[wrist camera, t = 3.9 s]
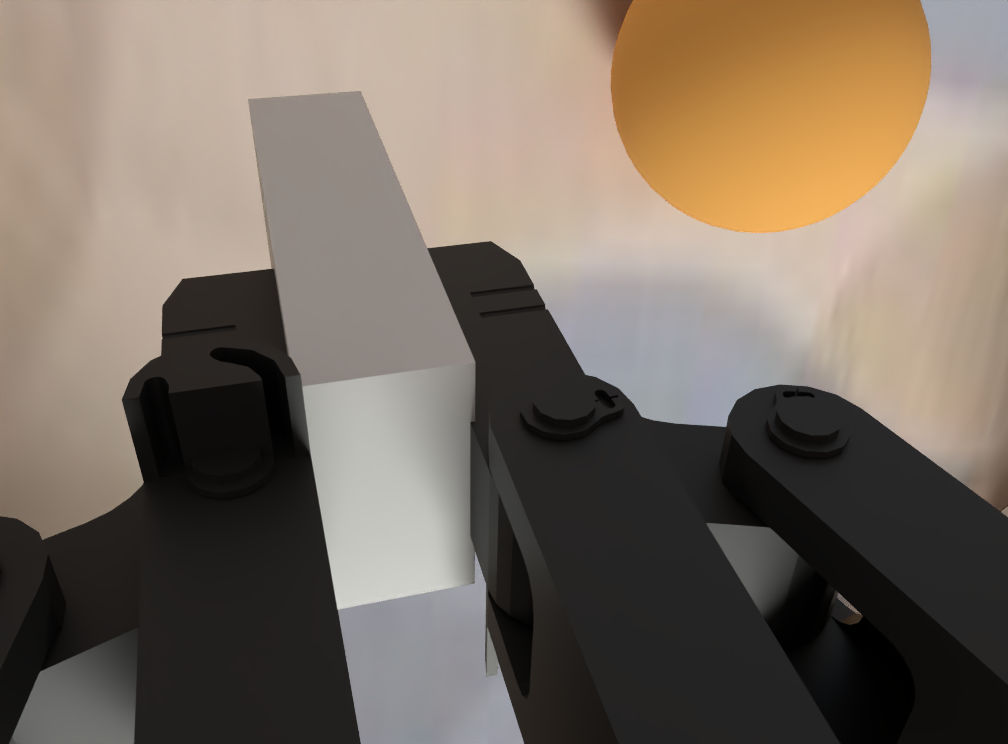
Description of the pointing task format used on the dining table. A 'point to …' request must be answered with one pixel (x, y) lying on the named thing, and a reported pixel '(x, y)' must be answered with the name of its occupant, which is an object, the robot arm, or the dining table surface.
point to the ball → (768, 103)
